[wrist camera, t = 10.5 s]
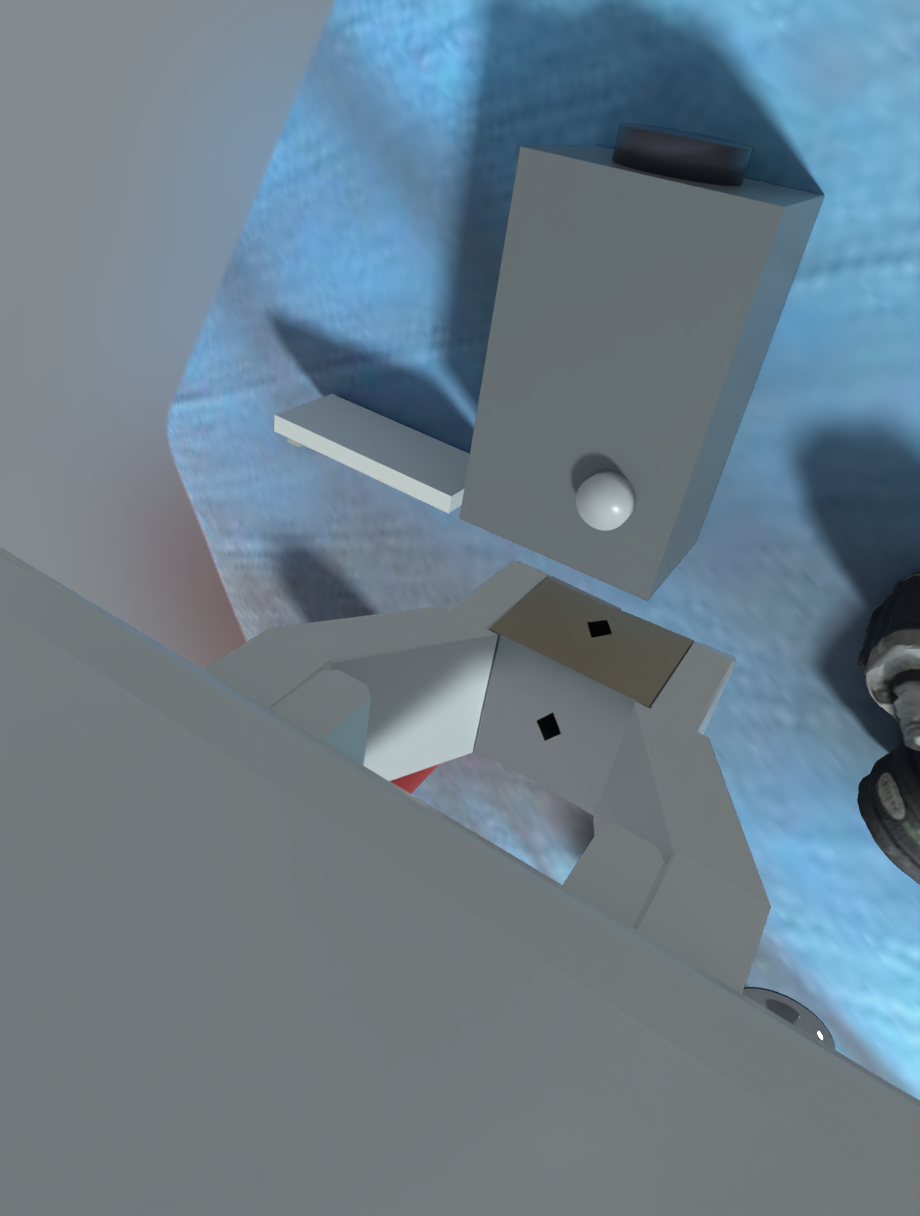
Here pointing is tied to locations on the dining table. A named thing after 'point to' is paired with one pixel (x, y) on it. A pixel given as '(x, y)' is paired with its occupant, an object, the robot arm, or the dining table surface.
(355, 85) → the dining table surface
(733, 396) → the block
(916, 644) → the camera
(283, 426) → the side door
